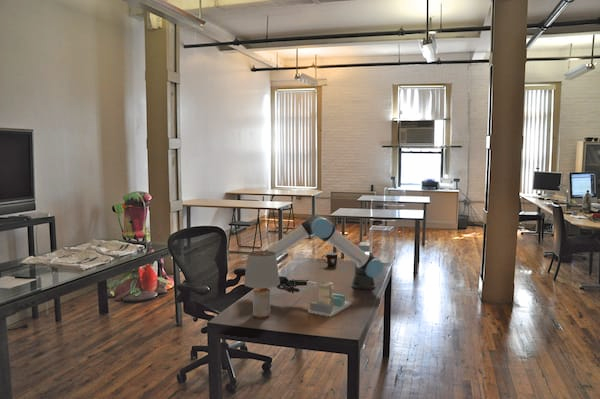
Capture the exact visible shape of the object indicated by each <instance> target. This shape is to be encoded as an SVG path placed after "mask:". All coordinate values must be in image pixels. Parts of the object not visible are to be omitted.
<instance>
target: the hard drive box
mask: <svg viewBox="0 0 600 399" xmlns="http://www.w3.org/2000/svg"><path fill="white" fill-rule="evenodd" d="M358 248H360V249H361V250H362V251H369V252H371V242H369V241H360V242H359V244H358Z"/></svg>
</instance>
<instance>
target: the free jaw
mask: <svg viewBox="0 0 600 399" xmlns="http://www.w3.org/2000/svg"><path fill="white" fill-rule="evenodd" d="M345 301H346V294H338V293H334V292H333V305H336V306H343V303H344V302H345Z"/></svg>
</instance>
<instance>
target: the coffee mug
mask: <svg viewBox="0 0 600 399" xmlns="http://www.w3.org/2000/svg"><path fill="white" fill-rule="evenodd" d="M338 255H339V253H337V252H327V253H326V255H322V256H321V260H322V261H323V262H325V263H326V264H327V267H328V266H329V267H328V268H331V267H334V268H336V267H337V265H338V264H337V263H338ZM324 257H326V260H327V261H326V260H324V259H323V258H324ZM335 266H336V267H335Z"/></svg>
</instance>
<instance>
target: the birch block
mask: <svg viewBox="0 0 600 399" xmlns="http://www.w3.org/2000/svg"><path fill="white" fill-rule="evenodd" d="M333 293H334V282H328V281H321V282H320V283H318V303H323V304H328V305H332V308H333Z"/></svg>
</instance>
